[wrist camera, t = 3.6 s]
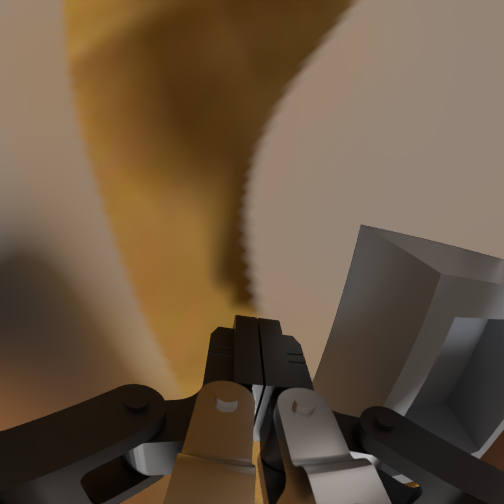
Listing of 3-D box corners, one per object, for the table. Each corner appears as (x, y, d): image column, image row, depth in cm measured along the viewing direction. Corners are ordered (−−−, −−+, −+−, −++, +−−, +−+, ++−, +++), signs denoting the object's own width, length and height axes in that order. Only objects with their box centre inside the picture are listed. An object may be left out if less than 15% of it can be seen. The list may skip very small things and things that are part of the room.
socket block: (505, 260, 11) (574, 298, 6) (441, 402, 14) (479, 459, 9) (360, 224, 10) (441, 273, 6) (301, 411, 13) (320, 497, 8)
